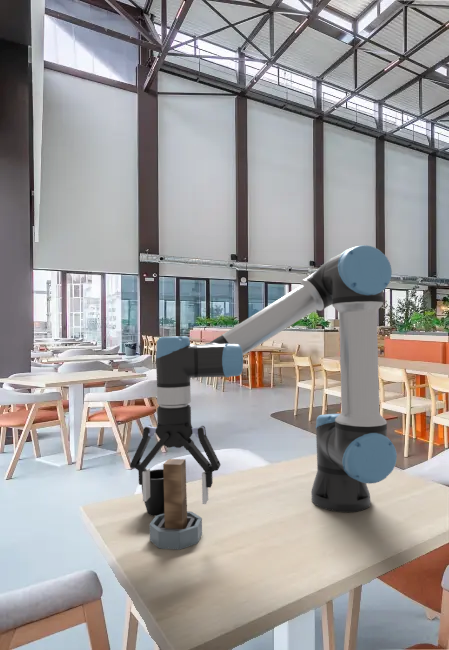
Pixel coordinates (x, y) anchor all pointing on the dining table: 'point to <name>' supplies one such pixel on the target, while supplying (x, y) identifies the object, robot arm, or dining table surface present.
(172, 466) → the wooden post
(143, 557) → the dining table surface
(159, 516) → the octagonal peg hole ring
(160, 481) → the mug
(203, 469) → the robot arm
